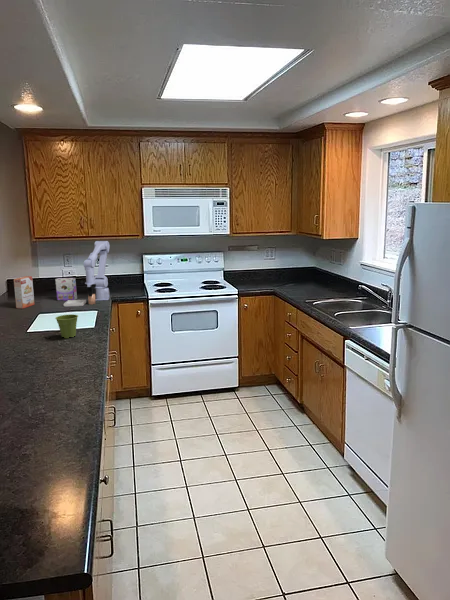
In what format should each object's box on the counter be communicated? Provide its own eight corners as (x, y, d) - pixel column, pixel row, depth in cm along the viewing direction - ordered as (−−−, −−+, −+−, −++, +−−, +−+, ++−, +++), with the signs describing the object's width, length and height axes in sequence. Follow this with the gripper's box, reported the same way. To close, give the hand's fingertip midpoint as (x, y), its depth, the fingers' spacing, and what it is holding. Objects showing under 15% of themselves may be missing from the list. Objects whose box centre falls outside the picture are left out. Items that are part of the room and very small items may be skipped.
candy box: (77, 299, 371) (75, 277, 368) (74, 300, 365) (72, 278, 362) (60, 299, 372) (58, 277, 369) (56, 300, 367) (54, 279, 363)
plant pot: (71, 332, 275) (70, 313, 273) (84, 336, 268) (82, 316, 265) (52, 337, 266) (50, 317, 264) (65, 341, 259) (63, 320, 257)
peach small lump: (96, 303, 355) (95, 293, 354) (95, 304, 350) (94, 294, 349) (89, 303, 355) (88, 293, 354) (88, 304, 350) (87, 295, 349)
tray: (86, 302, 359) (86, 299, 358) (82, 306, 346) (82, 303, 346) (68, 302, 358) (67, 300, 357) (63, 306, 345) (63, 303, 345)
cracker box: (23, 308, 340) (20, 279, 336) (16, 308, 342) (12, 278, 337) (35, 304, 354) (32, 276, 350) (27, 304, 355) (24, 275, 351)
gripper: (86, 275, 356) (87, 293, 358) (82, 278, 341) (83, 297, 344) (96, 274, 356) (97, 293, 359) (92, 277, 342) (93, 297, 344)
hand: (91, 295), depth 351 cm, fingers open, 7 cm apart
